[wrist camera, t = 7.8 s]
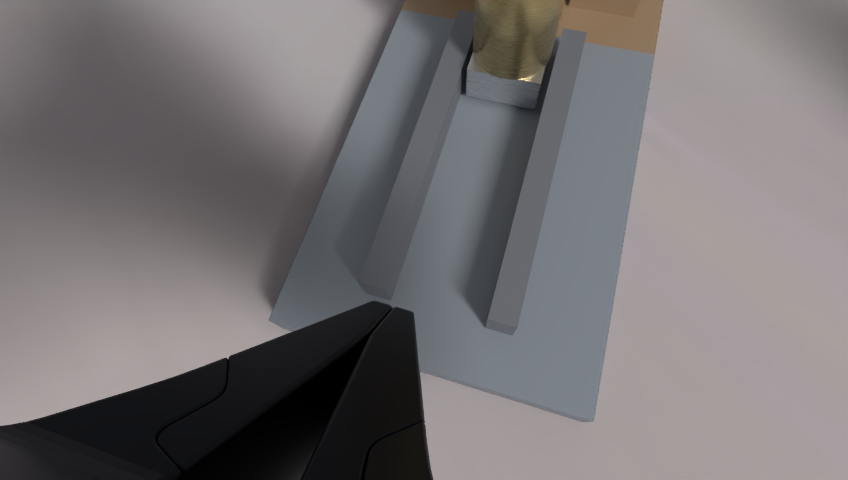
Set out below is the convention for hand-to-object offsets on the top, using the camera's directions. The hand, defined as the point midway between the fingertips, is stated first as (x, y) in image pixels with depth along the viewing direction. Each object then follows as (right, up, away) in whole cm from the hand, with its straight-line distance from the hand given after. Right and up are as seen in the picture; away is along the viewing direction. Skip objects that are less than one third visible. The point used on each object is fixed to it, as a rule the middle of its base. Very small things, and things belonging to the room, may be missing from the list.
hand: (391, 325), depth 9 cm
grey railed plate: (+4, +6, +12) cm, 14 cm away
